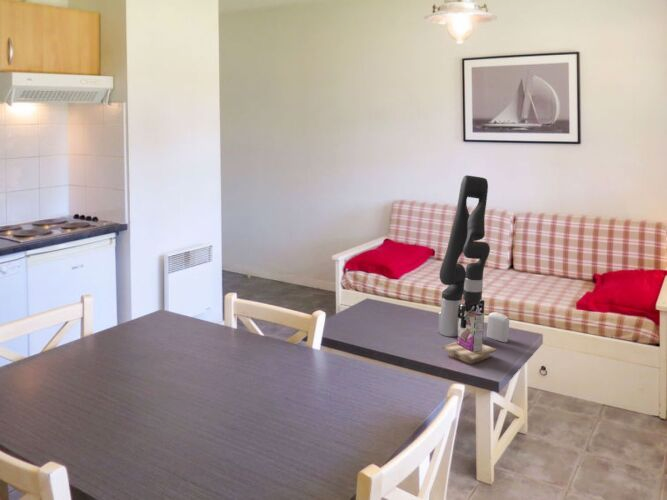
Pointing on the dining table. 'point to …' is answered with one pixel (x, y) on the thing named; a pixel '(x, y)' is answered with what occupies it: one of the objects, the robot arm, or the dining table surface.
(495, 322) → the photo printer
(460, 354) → the stand
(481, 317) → the candy bar box
